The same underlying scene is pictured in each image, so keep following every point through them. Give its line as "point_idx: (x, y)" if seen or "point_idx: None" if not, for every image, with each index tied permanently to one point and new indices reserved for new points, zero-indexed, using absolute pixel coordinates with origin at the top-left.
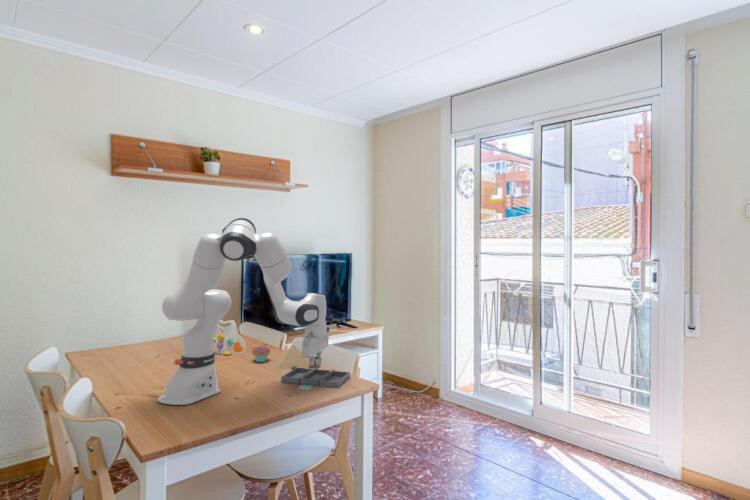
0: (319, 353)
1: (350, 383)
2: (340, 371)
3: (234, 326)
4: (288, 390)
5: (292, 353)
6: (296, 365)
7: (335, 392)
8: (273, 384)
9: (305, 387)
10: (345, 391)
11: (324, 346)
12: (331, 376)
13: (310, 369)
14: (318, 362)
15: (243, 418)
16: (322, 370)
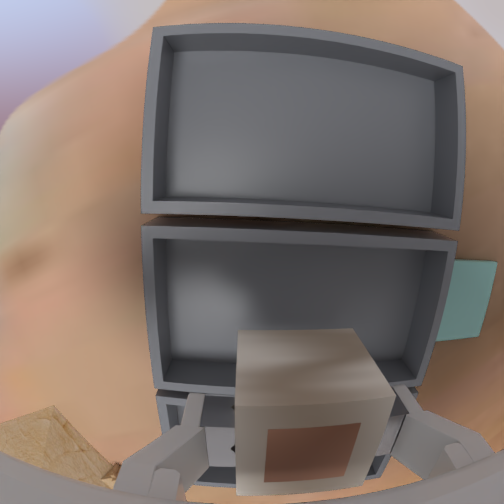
0: (166, 473)
1: (293, 9)
2: (143, 122)
3: None
4: (478, 366)
5: None
6: (99, 478)
7: (484, 86)
8: (390, 464)
9: (463, 301)
10: (452, 28)
11: (25, 500)
12: (206, 197)
13: (168, 411)
14: (351, 369)
15: None
16: (157, 316)
